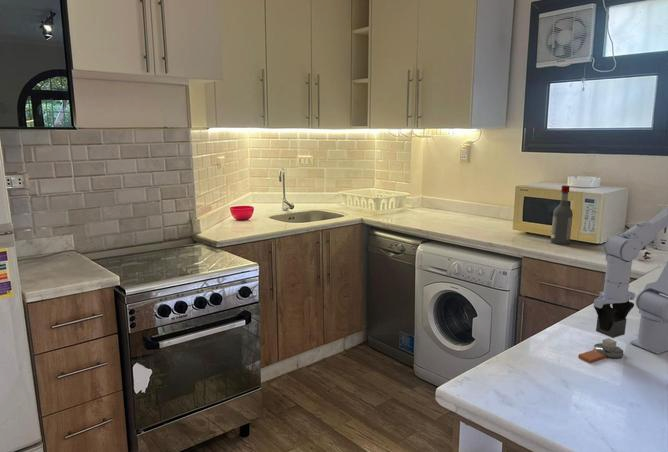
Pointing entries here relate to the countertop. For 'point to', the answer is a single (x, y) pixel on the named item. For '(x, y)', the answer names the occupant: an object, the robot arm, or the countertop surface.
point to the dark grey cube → (614, 327)
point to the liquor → (562, 220)
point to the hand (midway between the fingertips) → (610, 327)
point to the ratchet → (602, 351)
